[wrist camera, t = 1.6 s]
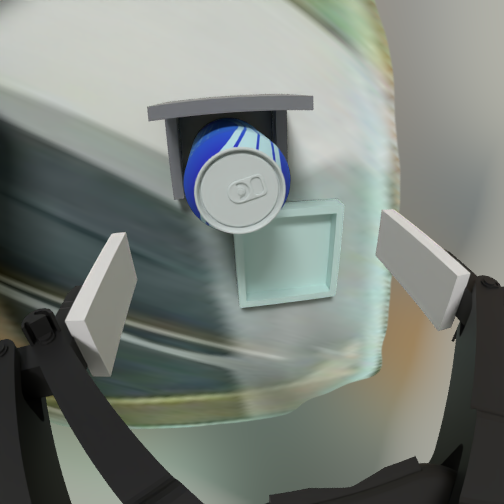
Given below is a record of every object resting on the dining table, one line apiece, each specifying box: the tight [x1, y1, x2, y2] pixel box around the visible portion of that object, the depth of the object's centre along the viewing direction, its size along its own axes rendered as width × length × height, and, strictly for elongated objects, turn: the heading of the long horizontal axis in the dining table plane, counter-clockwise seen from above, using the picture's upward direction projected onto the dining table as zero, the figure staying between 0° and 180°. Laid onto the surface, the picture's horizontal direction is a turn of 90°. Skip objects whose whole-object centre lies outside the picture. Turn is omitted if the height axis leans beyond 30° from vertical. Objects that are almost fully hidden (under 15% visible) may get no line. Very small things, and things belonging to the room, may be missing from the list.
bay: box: [147, 94, 313, 200], centre depth 31 cm, size 13×11×12 cm
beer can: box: [184, 118, 290, 234], centre depth 29 cm, size 8×8×16 cm
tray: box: [233, 199, 344, 308], centre depth 43 cm, size 14×14×2 cm
